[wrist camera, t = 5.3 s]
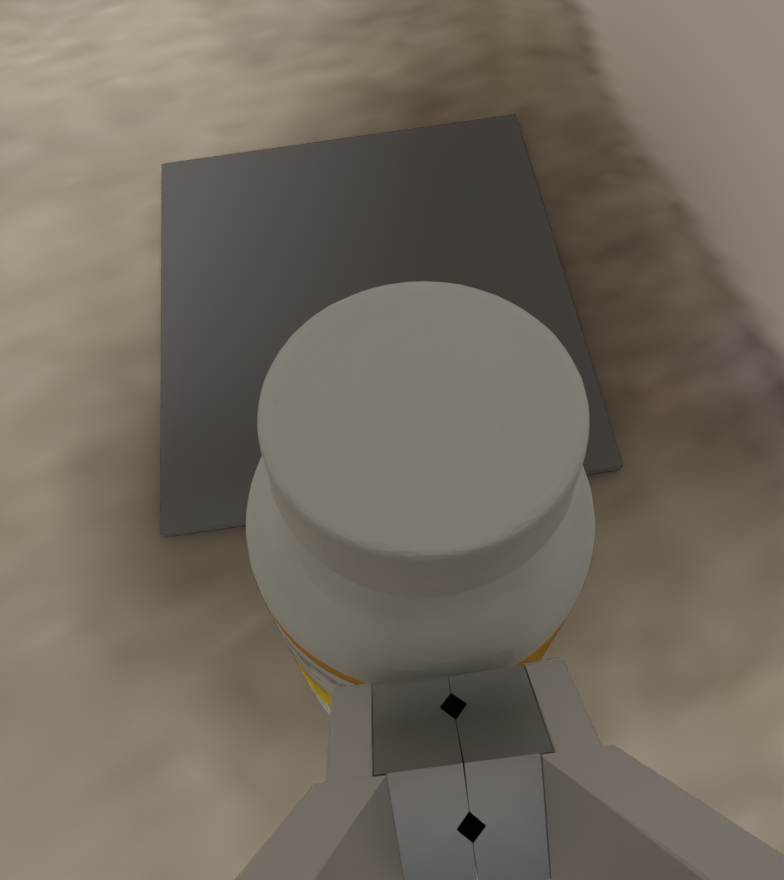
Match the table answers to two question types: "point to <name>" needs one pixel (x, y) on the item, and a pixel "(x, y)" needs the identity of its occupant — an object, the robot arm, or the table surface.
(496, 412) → the supplement bottle
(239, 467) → the rubber mat
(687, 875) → the robot arm
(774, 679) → the table surface
